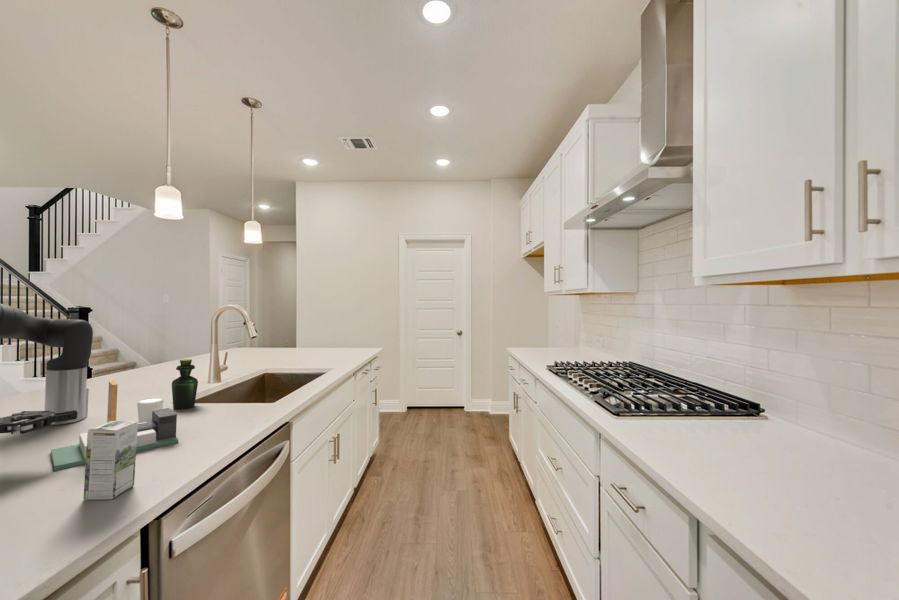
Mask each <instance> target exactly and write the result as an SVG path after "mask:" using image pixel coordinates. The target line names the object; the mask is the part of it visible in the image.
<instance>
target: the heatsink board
mask: <svg viewBox="0 0 899 600" xmlns="http://www.w3.org/2000/svg"><path fill="white" fill-rule="evenodd" d="M177 419H178V414H177V413H176V412H175V411H173V410H172V409H171V408H170V407H168V408H167V407H166V408H162V409H160V410H154V411H152V422H153V421H156V422H157V423H158V427H153V428H147V429H142V430H137V446H136V453H138V452H143V451H146V450H151V449H155V448H156V449H157V448H160V447H165V446H169V445H174V444H178V443H179V438H178V437H177V423H178V422H177ZM143 423H147V422H143ZM138 424H142V423H139V422H138ZM87 435H88V432H83V433H79V443H77V444H74V445H73V444H72V445H67V446H62V447H56V448H53V449H52V448H51V450H50V453H51V455H50V456H51V460H52V463H53V464H52V465H53V469H54V471H58V470H59V471H60V470H63V469H68V468H72V467H76V466H81V465H86V451H87Z"/></svg>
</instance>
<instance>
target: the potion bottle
mask: <svg viewBox="0 0 899 600" xmlns="http://www.w3.org/2000/svg"><path fill="white" fill-rule="evenodd" d="M192 361H193V359H192V358H182V359H181V358H180V359H179V363H180V364H179V365H178V366H176V369H175V370H177V371H179V377H177V378H175V379H173V381H172V382H171V394H172V396H171V397H172V408H173V409H174V410H187V409H192V408H193V407H195V405H196V399H197V394H198V393H197V392H198V384H199V381H198V379H197V377H194V376H192V375H191V373H192V371H193V370H194V369H196V367H195V365H194V364H192Z"/></svg>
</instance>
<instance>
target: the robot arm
mask: <svg viewBox="0 0 899 600" xmlns="http://www.w3.org/2000/svg"><path fill="white" fill-rule="evenodd" d="M0 339H7V340H9V339H10V340H13V339H15V340H24V341H28V342H33V343H36V344H40V345H44V346H47V347H52V348H62V351H61V354H60V355H59V356H58V357H55V358H52V359H49V360H48V361H47V362H46V366H45V368H46V369H45V386H44V387H45V389H44V390H45V391H44V393H45V394H44V410H22V411H20V412H16V413H11V415H8V416H4V417H0V434H11V435H15V434H20V435H25V434H29V433H32V432H36V431H39V430H41V429H47V428H49V427H52V426H55V425H56V426H57V425H58V426H59V425H66V424H72V423H76V422H80V421H82V420H84V419H85V418H86V417H88V414H89V412H88V411H89V393H90V391H89V390H90V389H89V388H87V378H88V362H89V360H90V358H91V355H92V347H93V339H94V330H93V327H92V325H91V323H90V322H88V321H86V320H85V319H74V318H73V319H67V318H65V319H64V318H47V317H39V316H34V315H31V314H30V315H29V314H27V313H26V312H25V311H24V310H22V309H20V308H18V307H15V306H12V305H9V304H4V303H0Z"/></svg>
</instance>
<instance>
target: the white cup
mask: <svg viewBox="0 0 899 600" xmlns="http://www.w3.org/2000/svg"><path fill="white" fill-rule="evenodd" d="M164 399H165V398H162V397H153V398H152V397H150V398H145V399H141V400H137V402H136V404H137V418H138V423H143V422H152V411H154V410H160V409H163V407H164Z"/></svg>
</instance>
